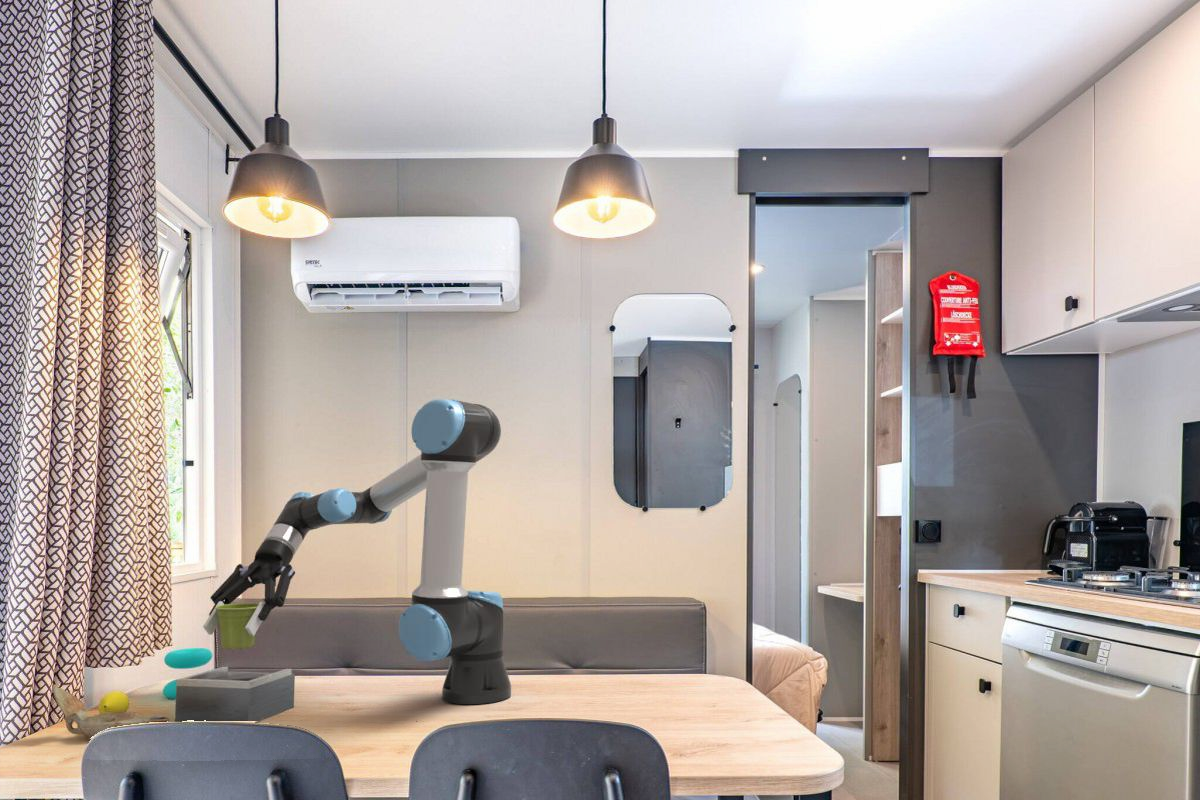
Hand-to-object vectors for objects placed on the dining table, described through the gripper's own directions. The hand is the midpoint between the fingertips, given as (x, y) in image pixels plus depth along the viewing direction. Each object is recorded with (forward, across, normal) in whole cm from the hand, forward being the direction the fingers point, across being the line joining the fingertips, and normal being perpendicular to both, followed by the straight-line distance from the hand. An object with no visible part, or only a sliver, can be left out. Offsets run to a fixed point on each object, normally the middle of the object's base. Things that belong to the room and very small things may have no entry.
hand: (228, 631), depth 171 cm
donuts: (0, +24, -24) cm, 34 cm away
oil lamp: (+24, +13, -1) cm, 27 cm away
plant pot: (+1, 0, -5) cm, 5 cm away
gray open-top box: (+10, +1, -14) cm, 18 cm away
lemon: (+15, +24, -10) cm, 30 cm away
